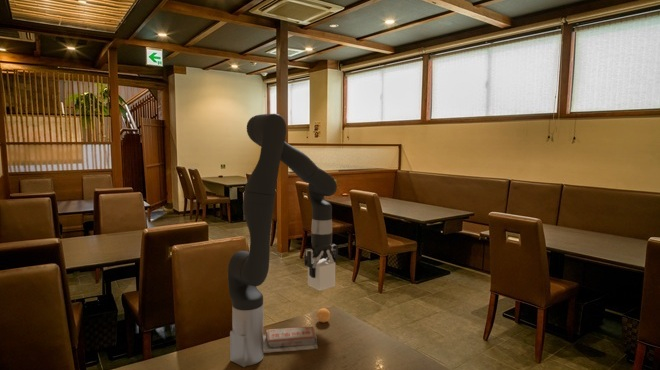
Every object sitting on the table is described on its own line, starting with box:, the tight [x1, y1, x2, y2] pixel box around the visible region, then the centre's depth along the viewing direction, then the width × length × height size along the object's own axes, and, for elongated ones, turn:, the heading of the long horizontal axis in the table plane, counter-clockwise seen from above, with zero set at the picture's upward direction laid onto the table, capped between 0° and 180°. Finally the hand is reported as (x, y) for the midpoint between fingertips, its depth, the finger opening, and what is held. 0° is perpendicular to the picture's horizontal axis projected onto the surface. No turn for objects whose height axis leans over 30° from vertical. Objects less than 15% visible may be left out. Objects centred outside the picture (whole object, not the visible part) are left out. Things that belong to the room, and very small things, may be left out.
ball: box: [316, 307, 331, 324], centre depth 145 cm, size 5×5×5 cm
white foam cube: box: [307, 258, 336, 291], centre depth 144 cm, size 7×7×9 cm
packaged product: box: [263, 326, 319, 354], centre depth 130 cm, size 18×5×10 cm
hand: (321, 275), depth 144 cm, fingers closed on white foam cube, 7 cm apart
